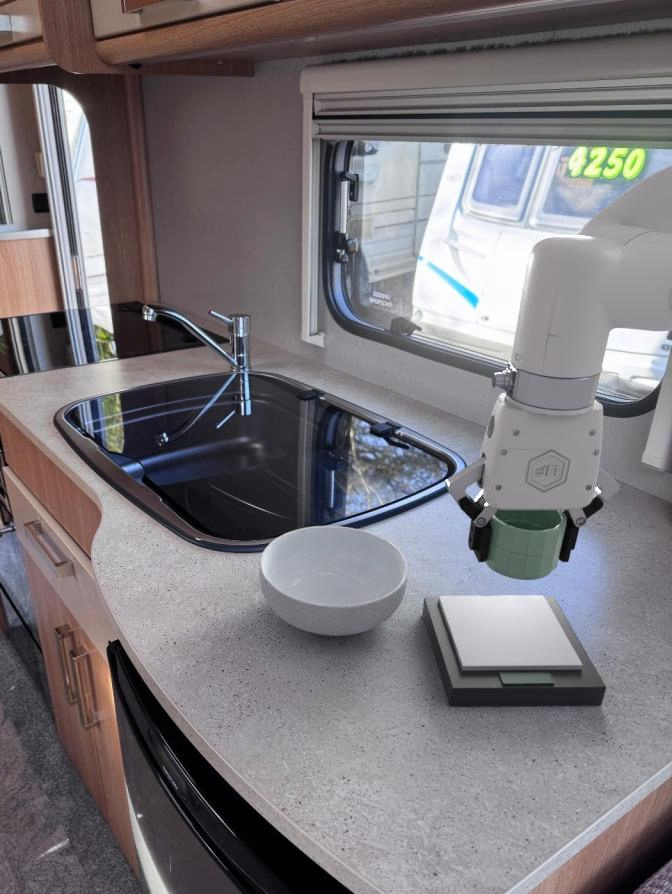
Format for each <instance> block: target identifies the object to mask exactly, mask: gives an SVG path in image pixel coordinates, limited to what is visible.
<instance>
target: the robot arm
mask: <svg viewBox="0 0 672 894" xmlns="http://www.w3.org/2000/svg"><path fill="white" fill-rule="evenodd" d="M614 329H627V330H628V329H629V330H637V331H646V332H647V331H648V332H669V331H672V164H671V165H669V166H666V167H664V168H663V169H660V170H659V171H656V172H654V173H653V174H651V175H649V176H647V177H645V178H643V179H642V180H640V181H639V182H637V183H635V184H633V185H632V186H631V187H629V188H628V189H626V190H625V191H624V192H622V193H621V194H620V195H618V196H617V197H616V198H615V199H614V200H612V201H611V202H609V204H608V205H606V206H605V207H604V208H602V209H601V210H600V211H599V212H597V214H595V215H594V216H593V217H592V218H590V219H589V220H588V221H587V222H586V223H585V224H584V225H583V226H582V227H580V229H579V230H578V231H577V232H576V233H575V235H574V234H563V235H560V234H559V235H550V236H546V237H543V238H540V239H539V240H537V241H536V242H535V243H534V244H533V245H532V247H531V248H530V249H529V252H528V254H527V259H526V265H525V270H524V276H523V283H522V290H521V297H520V301H519V308H518V314H517V321H516V327H515V334H514V340H513V346H512V352H511V353H512V354H511V359H510V361H508V362H507V368H505V370H503V371H501V372H493V373H492V375H491V376H492V377H491V386H492V388H493V389H499V388H500V390H503V391H505V392H502V393H499V394H498V396H497V399H496V401H495V403H494V406H493V409H492V411H491V415H490V417H489V419H488V422H487V426H486V430H485V433H484V437H483V441H482V444H481V448H480V454H479V459H477V460H475V461H474V462H472V463H471V464H469V465H468V466H466V467H464V468H463V469H461V470H459V471H458V472H456V473H455V474H453V475H452V476H450V477H448V478H447V479H446V480H445V482H444V484H445V487H446V489H447V491H448V493H449V494H450V495H451V497H452V498H453V500H454V501H455V503H457V505H458V507H459V508H460V510H461V511H462V512H463V513H464V514H465V515H466V516H467V517H468V518H469V519H470V526H469V531H468V537H467V538H468V539H467V546H468V548H469V551H473V553H474V555H475V558H476V560H477V562H478V563H485V561H486V560H487V554H488V549H489V543H490V537H491V527H490V525H489V523H488V522H489V520H490V519H491V518H492V517H493V516H494V514H495V513H496V512H497V511H498V510H499V509H500V510H562V511H563V513H564V514H565V515H566V517H567V523H566V528H565V533H564V537H563V542H562V546H561V551H560V555H559V560H558V561H560V562H561V563H568V562H569V561H570V557H571V553H572V551H574V550H575V549H576V545H577V540H578V536H579V532H580V528H582V527H584V526H585V525H586V524H587V522H588V519H589V518H590V517H592V516H593V515H595V514H596V513H598V512H599V511H600V510H601V509H603V507H604V505H605V503H606V502H609V500H610V499H611V498H613V497H614V496H616V494H618V492H620V490H621V485H620V484H619V483H618V482H617V480H615V478H613V477H612V476H611V475H610V474H609V473H608V472H606V471H605V470H604V469H603V468H601V467H600V464H601V458H602V447H603V431H604V406H603V404H602V403H600V402H599V401H598V400H596V395H597V391H598V386H599V383H600V382H599V381H600V377H601V374H602V367H603V363H604V359H605V354H606V350H607V345H608V341H609V337H610V332H611V331H613V330H614ZM475 483H476V486H477V487H478V488H480V489H481V490H480V492H479V493H478V494H477V495H476V496H475V498H474V499H473V498H472V497H471V496H470V494H469V493H467V491H466V489H468V487H470V486H471V485H473V484H475Z"/></svg>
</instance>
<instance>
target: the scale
mask: <svg viewBox="0 0 672 894" xmlns="http://www.w3.org/2000/svg"><path fill="white" fill-rule="evenodd" d="M422 618H423V622H424V624H425V627H426V631H427V635H428V638H429V642H430V644H431V648H432V651H433V654H434V659H435V662H436V666H437V668H438V672H439V675H440V679H441V681H442V685H443V689H444V692H445V695H446V698H447V699H446V700H447V702H448V705H449V707H450V708H451V707H452V708H457V707H459V708H461V707H467V708H468V707H554V706H555V707H557V706H559V707H563V706H565V707H567V706H569V707H570V706H571V707H572V706H579V707H580V706H602V704H603V701H604V697H605V694H606V690H607V686H606V683H605V682H604V680H603V679H602V677H601V675H600V673H599V671H598V670H597V668H596V666H595V665H594V663H593V661H592V660H591V658H590V656H589V654H588V652H587V651H586V649H585V648H584V646H583V644H582V642H581V641H580V638H579V637H578V636H577V634H576V632H575V630H574V628H573V627H572V625H571V624H570V621H569V620H568V618H567V617H566V615H565V613H564V611H563V610H562V608H561V607H560V605H559V603H558V601H557V600H556V598H555V596H545V595H544V594H506V595H505V594H501V595H499V594H497V595H496V594H492V595H491V594H490V595H487V594H485V595H483V594H482V595H480V594H478V595H473V594H472V595H438V597H423V606H422Z"/></svg>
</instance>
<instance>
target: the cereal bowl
mask: <svg viewBox="0 0 672 894" xmlns="http://www.w3.org/2000/svg"><path fill="white" fill-rule="evenodd" d="M258 571H259V575H258V577H259V582H260V589H261V593H262V595H263V598H264V599H265V601H266V603H267V604H268V606H269V607H270V609H271V610H272V611H273V612H274V613H275V614H276V615H277V616H278V617H279V618H280V619H282V620H283V621H284V622H286V623H288V624H289V625H291V626H293V627H295V628H297V629H299V630H302V631H305V632H308V633H311V634H312V633H313V634H316V635H323V636H328V637H329V636H332V637H334V636H335V637H341V636H343V637H345V636H351V635H358V634H360V633H364V632H367V631H370V630H372V629H375V628H377V627H378V626H381V625H382V624H383V623H384V622H387V621H388V619H390V618H391V617H392V615H394V614H395V612H396V611H397V610H398V609H399V607H400V605H401V604H402V601H403V600H404V596H405V594H406V590H407V587H408V580H409V579H408V578H409V566H408V562H407V560H406V558H405V556H404V555H403V553H402V552H401V551H400V549H399V548H398V547H397V546H395V545H394V544H393V543H392V542H390V540H387V539H385V538H383V537H382V536H379V535H377V534H375V533H373V532H370V531H365V530H362V529H359V528H354V527H346V526H337V525H315V526H309V527H303V528H298V529H294V530H291V531H289V532H285V533H284V534H282V535H280V536H278V537H276V538H275V539H273V540H272V541H271V542H270V543H269V544H268V545H267V546H266V547H265V548H264V550H263V551H262V553H261V555H260V558H259V567H258Z"/></svg>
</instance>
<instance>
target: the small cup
mask: <svg viewBox="0 0 672 894" xmlns="http://www.w3.org/2000/svg"><path fill="white" fill-rule="evenodd" d="M563 511H564V510H500V509H499V510H498V511H497V512H496V513H495V514H494V516H493V517H492V518H491V519H490V520H489V522H488V523H489V525H490V527H491V537H490V543H489V549H488V554H487V560H486V561H485V562H484V563H485V565H486V566H487V567H488V568H489V569H491V570H492V571H494V572H495V573H497V574H498V575H501V576H503V577H506V578H508V579H509V578H510V579H513V580H519V581H534V580H535V581H536V580H540V579H543V578H546V577H548V576H549V575H550V574H551V573H552V572H553V571H554V570H555V569H556V568H557V567H558V564H559V561H560V560H559V555H560V551H561V546H562V542H563V537H564V533H565V528H566V523H567V517H566V515H565V514H564V513H563Z"/></svg>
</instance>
